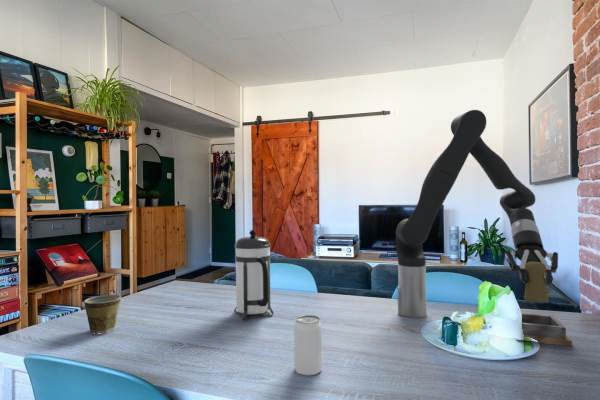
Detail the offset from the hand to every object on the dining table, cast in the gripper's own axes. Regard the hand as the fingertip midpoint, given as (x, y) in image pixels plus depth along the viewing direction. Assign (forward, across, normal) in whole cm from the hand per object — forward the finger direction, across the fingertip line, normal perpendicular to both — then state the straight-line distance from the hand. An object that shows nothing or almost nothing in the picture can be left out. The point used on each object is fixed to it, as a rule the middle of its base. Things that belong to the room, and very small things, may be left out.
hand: (537, 282), depth 102 cm
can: (+39, -56, -18) cm, 71 cm away
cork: (+3, 0, +5) cm, 6 cm away
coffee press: (+16, -87, +5) cm, 89 cm away
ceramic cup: (+36, -127, -16) cm, 133 cm away
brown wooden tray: (+10, 0, +12) cm, 16 cm away
